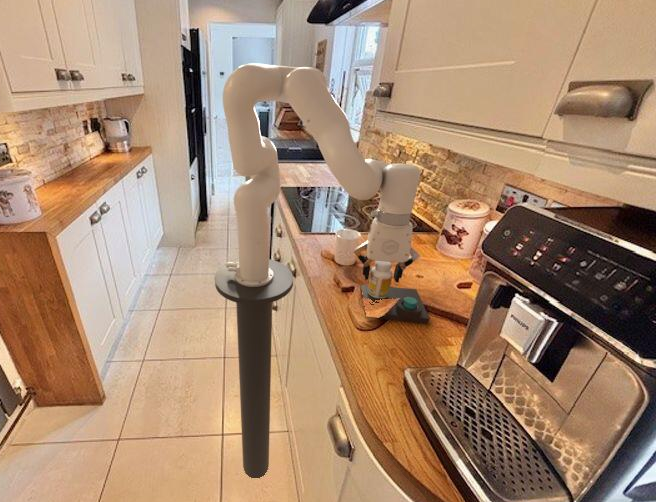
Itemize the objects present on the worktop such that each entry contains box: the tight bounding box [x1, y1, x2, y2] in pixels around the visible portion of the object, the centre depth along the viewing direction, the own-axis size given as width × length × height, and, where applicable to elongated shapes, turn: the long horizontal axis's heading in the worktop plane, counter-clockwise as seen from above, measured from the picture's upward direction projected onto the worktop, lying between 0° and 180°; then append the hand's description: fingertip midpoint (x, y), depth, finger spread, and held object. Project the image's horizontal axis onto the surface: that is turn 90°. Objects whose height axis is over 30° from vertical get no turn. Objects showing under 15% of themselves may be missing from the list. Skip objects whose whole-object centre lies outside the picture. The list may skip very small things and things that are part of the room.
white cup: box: [333, 228, 362, 266], centre depth 107 cm, size 8×8×10 cm
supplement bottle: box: [367, 261, 393, 299], centre depth 87 cm, size 5×5×10 cm
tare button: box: [403, 297, 417, 309], centre depth 82 cm, size 3×3×2 cm
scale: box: [360, 284, 430, 325], centre depth 87 cm, size 15×14×4 cm
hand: (380, 278), depth 87 cm, fingers open, 7 cm apart
